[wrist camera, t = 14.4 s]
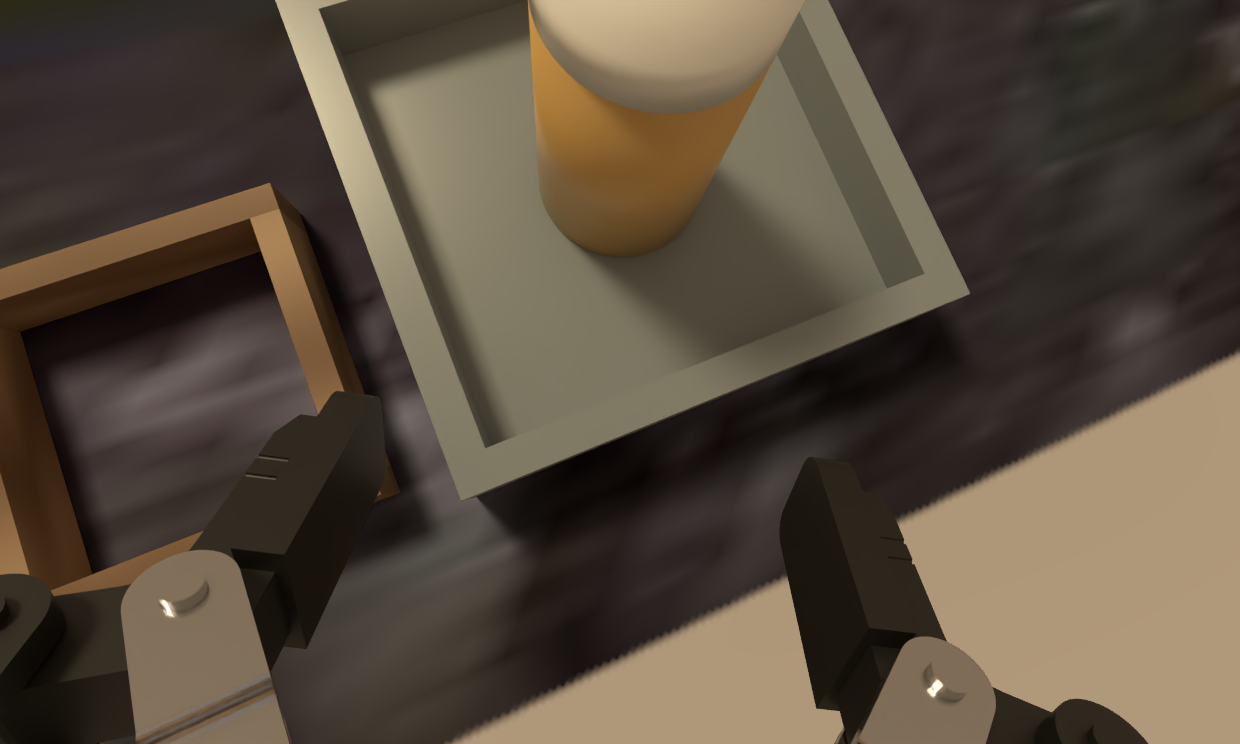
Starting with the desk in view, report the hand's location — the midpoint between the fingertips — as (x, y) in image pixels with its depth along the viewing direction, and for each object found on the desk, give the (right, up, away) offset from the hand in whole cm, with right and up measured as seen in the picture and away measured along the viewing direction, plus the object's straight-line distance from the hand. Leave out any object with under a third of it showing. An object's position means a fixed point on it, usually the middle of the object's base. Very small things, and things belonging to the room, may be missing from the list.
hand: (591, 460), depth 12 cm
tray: (0, +8, +8) cm, 11 cm away
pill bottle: (+1, +8, +8) cm, 11 cm away
